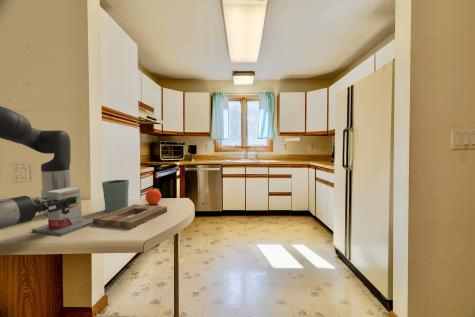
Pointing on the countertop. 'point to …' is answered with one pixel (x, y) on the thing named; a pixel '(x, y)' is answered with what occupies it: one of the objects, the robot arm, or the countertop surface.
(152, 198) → the clementine
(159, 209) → the frame
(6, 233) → the countertop surface
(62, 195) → the ink box
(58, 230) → the slate tile
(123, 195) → the grey cup
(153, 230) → the countertop surface
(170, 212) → the countertop surface
